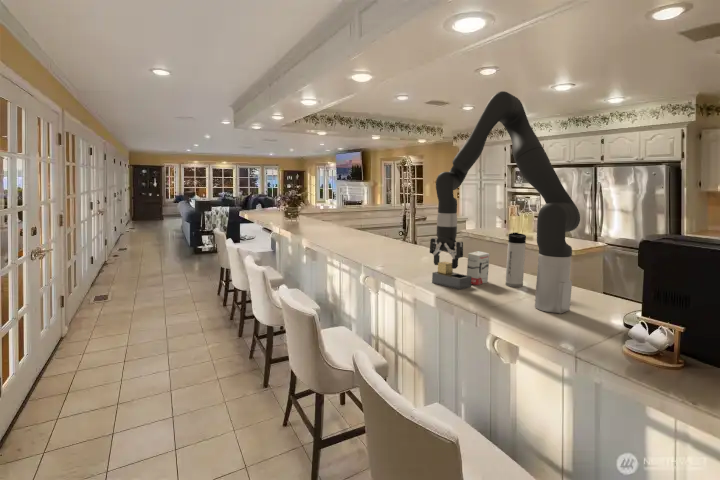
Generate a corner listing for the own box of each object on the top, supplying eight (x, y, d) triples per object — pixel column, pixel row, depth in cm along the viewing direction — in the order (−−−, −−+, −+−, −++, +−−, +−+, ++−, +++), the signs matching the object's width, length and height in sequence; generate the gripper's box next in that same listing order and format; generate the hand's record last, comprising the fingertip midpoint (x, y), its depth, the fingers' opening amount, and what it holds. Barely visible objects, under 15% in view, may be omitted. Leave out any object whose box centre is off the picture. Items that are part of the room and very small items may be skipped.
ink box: (477, 285, 157) (478, 255, 155) (465, 283, 160) (467, 253, 158) (488, 282, 163) (490, 252, 161) (477, 279, 166) (478, 250, 164)
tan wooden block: (452, 283, 160) (453, 263, 158) (445, 284, 157) (446, 264, 156) (444, 281, 163) (444, 261, 162) (437, 282, 160) (438, 262, 159)
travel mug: (519, 283, 161) (523, 232, 158) (524, 287, 154) (528, 234, 152) (503, 282, 162) (506, 232, 159) (507, 287, 155) (511, 234, 152)
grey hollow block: (470, 286, 155) (471, 276, 154) (459, 289, 150) (459, 279, 150) (443, 280, 165) (444, 270, 164) (432, 282, 160) (432, 272, 160)
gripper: (468, 225, 153) (466, 268, 156) (438, 222, 164) (437, 262, 167) (456, 227, 149) (454, 271, 151) (426, 223, 160) (424, 264, 162)
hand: (445, 266), depth 159 cm, fingers open, 8 cm apart
